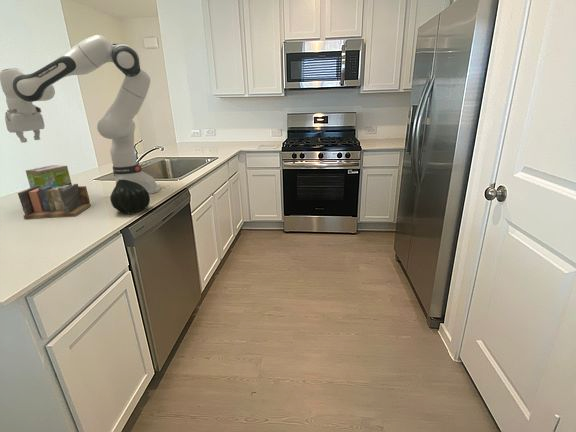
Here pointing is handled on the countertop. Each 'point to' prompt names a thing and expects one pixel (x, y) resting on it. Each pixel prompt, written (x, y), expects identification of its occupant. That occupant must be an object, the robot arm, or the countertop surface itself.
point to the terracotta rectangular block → (36, 200)
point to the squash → (129, 197)
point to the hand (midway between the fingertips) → (31, 141)
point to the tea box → (49, 176)
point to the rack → (56, 201)
